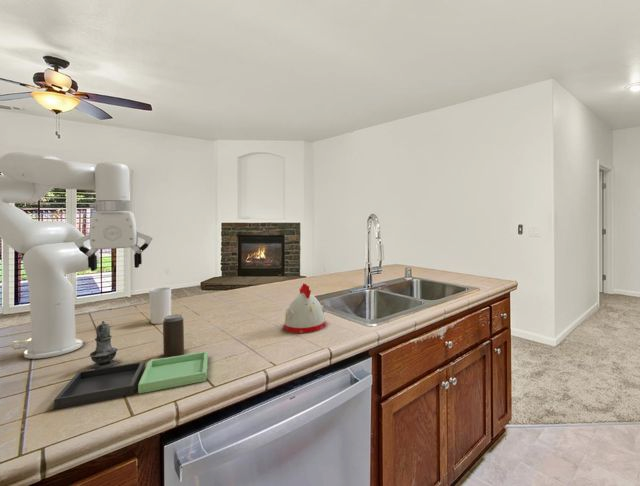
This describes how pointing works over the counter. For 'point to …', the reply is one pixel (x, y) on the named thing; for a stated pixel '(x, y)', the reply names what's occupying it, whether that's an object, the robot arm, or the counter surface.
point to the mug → (160, 304)
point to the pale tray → (174, 372)
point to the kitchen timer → (304, 313)
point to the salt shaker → (103, 348)
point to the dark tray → (100, 384)
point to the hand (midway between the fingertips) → (116, 268)
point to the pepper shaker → (173, 335)
